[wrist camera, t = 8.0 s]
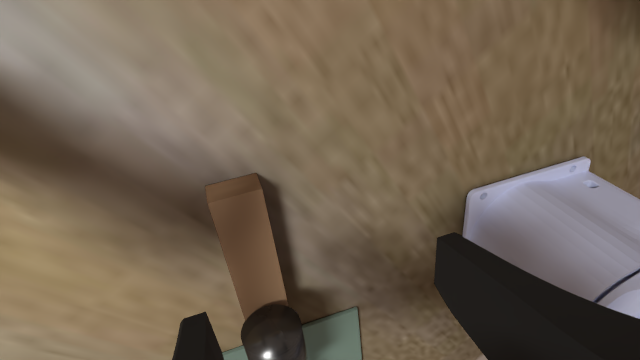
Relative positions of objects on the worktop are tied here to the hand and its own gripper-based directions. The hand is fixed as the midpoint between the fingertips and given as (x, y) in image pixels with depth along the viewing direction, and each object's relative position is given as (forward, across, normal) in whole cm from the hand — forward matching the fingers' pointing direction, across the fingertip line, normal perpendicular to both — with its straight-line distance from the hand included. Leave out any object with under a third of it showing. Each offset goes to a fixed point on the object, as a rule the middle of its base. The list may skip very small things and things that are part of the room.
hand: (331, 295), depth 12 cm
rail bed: (+10, +2, +6) cm, 12 cm away
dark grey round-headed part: (+9, +2, +14) cm, 17 cm away
